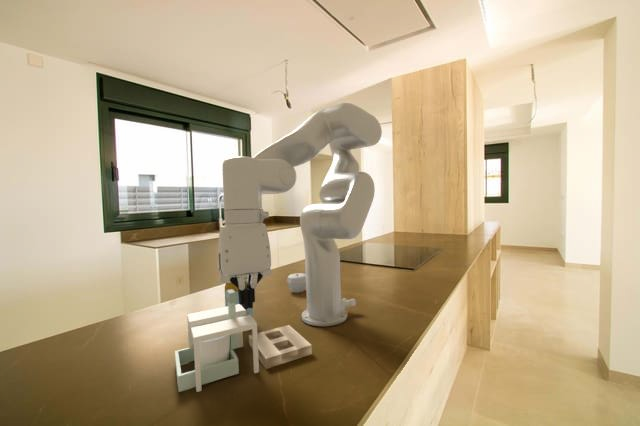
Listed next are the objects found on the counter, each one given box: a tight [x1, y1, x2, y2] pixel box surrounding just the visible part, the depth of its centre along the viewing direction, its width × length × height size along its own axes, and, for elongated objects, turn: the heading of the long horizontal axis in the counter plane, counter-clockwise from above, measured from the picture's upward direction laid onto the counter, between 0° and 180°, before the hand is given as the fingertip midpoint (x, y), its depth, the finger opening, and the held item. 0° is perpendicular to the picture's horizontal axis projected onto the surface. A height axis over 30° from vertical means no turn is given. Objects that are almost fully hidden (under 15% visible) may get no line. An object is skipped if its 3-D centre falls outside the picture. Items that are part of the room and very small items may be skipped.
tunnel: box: [186, 304, 260, 393], centre depth 58 cm, size 11×13×10 cm
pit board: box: [248, 324, 313, 370], centre depth 64 cm, size 10×12×2 cm
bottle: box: [224, 274, 254, 319], centre depth 78 cm, size 7×7×15 cm
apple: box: [286, 272, 306, 294], centre depth 105 cm, size 8×8×7 cm
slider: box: [174, 289, 240, 393], centre depth 57 cm, size 11×10×14 cm
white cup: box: [199, 335, 230, 368], centre depth 57 cm, size 7×7×7 cm
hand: (247, 306), depth 60 cm, fingers closed
